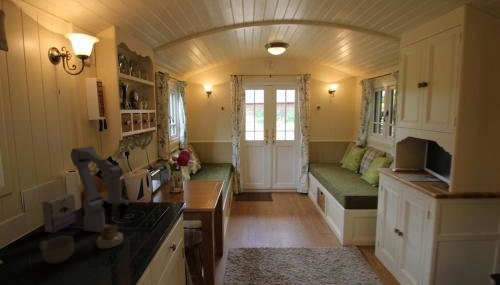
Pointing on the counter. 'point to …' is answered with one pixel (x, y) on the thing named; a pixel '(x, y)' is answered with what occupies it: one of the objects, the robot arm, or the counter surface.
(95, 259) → the counter surface
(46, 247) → the teacup
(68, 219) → the candy box
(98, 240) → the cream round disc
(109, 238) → the oak cube
